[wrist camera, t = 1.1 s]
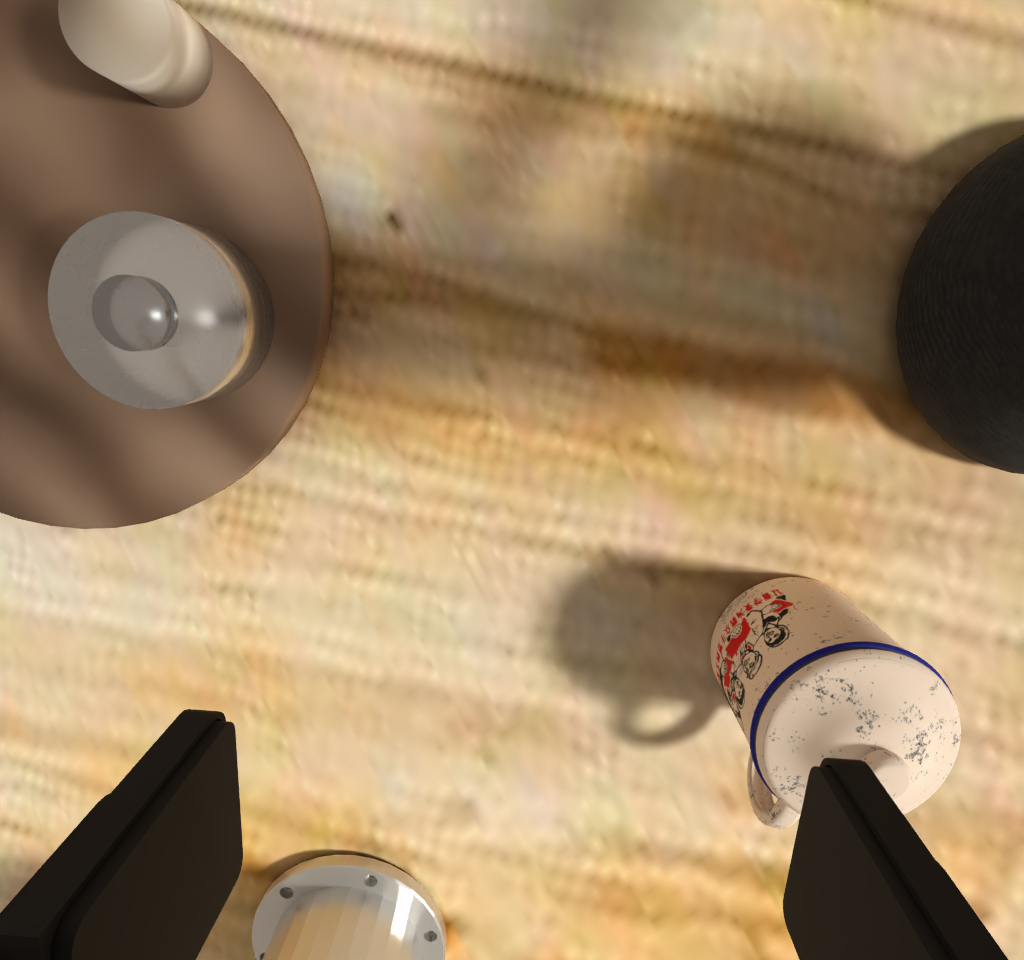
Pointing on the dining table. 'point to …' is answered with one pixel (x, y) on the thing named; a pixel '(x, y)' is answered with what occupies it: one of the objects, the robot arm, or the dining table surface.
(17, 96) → the turntable
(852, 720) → the teacup with lid
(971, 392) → the toy pedestal armchair
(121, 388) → the cap
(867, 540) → the dining table surface
